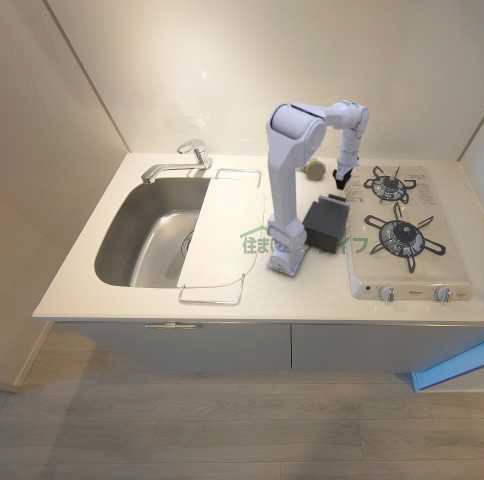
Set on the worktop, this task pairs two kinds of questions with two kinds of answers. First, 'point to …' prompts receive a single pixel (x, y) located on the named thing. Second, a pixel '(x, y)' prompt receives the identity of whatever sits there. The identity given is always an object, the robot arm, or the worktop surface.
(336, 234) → the cabinet
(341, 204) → the drawer
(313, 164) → the mug
